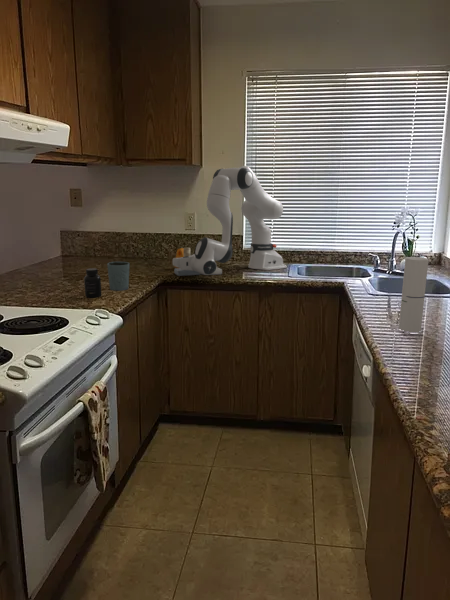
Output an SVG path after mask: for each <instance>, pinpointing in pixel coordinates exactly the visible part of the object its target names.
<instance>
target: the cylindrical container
mask: <svg viewBox="0 0 450 600" xmlns="http://www.w3.org/2000/svg"><path fill="white" fill-rule="evenodd" d="M404 260H405V261H404V270H403V277H402V278H403V281H402V288H401V289H402V290H401V301H400V309H399V311H400V312H399V321H398V322H399V323H398V330H399V329H401V330H404V331H409V332H419V331H421V332H422V324H423V316H424V315H423V313H424V307H425V306H424V304H425V299H426V298H425V295H426V286H427V277H428V270H429V258H428V257H427V258H426V257H421V256H406V257H405V259H404Z"/></svg>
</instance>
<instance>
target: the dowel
mask: <svg viewBox="0 0 450 600" xmlns="http://www.w3.org/2000/svg"><path fill="white" fill-rule="evenodd" d="M183 248H184V257H186V256H190V255H191V247H183Z"/></svg>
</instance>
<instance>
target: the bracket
mask: <svg viewBox="0 0 450 600" xmlns="http://www.w3.org/2000/svg"><path fill="white" fill-rule="evenodd" d="M184 248H185V247H182V248H177V250H176V253H175V258H181V257H184ZM173 267H174V268H175V269H177V268H178V267H176V266H174V265H173Z"/></svg>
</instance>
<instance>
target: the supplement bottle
mask: <svg viewBox="0 0 450 600" xmlns="http://www.w3.org/2000/svg"><path fill="white" fill-rule="evenodd" d="M85 273H86V275H85V276H84V278H83V281H84V282H83V283H84V293H85V297H86V298H89V299H95V298H96V299H97V298H101V296H102V294H103V293H102V282H101V280H102V279H101V276H100V275H99V274H98V273H99V272H98V268H96V267H95V268H93V267H91V268H87V269H85Z"/></svg>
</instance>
